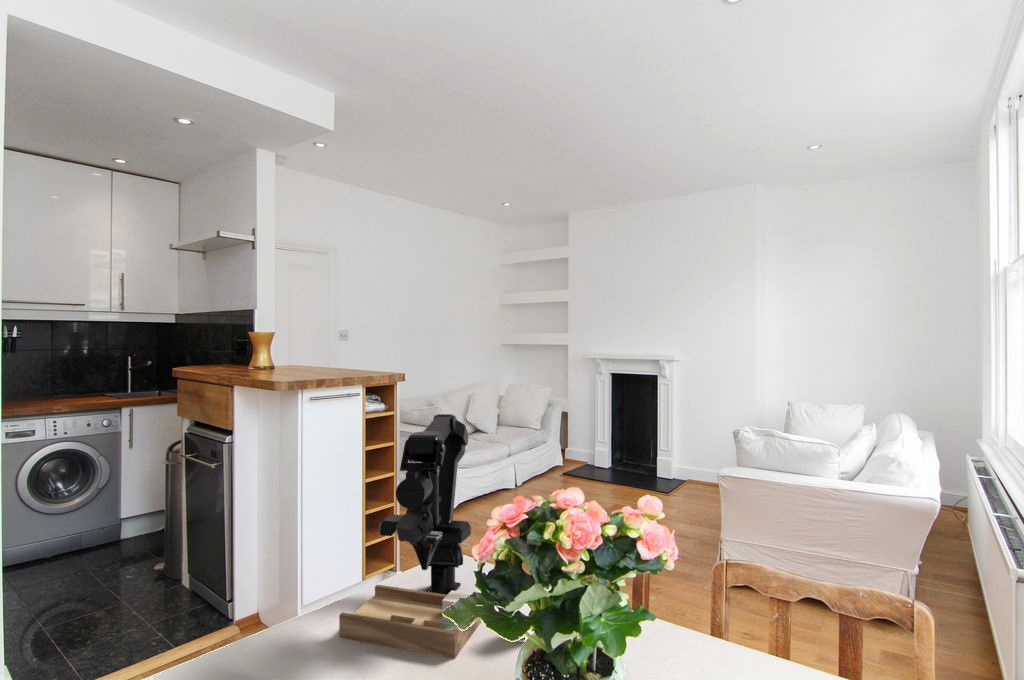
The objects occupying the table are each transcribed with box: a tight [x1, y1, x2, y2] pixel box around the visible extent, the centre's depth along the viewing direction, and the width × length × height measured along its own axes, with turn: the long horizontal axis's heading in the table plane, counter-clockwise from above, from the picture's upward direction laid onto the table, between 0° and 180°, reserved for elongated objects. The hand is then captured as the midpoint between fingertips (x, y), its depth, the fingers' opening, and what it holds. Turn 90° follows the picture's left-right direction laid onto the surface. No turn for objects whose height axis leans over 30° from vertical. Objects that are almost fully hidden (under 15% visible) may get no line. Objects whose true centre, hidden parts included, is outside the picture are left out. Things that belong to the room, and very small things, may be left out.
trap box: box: [338, 584, 482, 659], centre depth 111 cm, size 14×25×4 cm, turn 72°
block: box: [442, 590, 472, 622], centre depth 111 cm, size 4×5×4 cm
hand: (425, 569), depth 113 cm, fingers closed
